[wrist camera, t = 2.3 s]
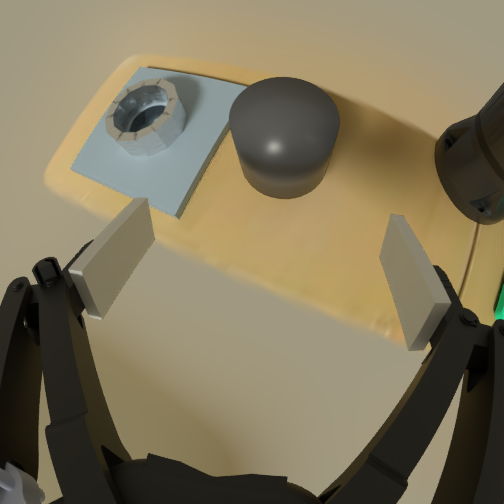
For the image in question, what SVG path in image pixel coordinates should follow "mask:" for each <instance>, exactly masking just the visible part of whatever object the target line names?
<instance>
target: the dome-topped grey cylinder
mask: <svg viewBox="0 0 504 504" xmlns="http://www.w3.org/2000/svg"><path fill="white" fill-rule="evenodd" d="M339 125H340V118H339V113H338V110H337V107H336V105H335V104H334V102H333V100H332V99H331V98H330V97H329V96H328V95H327V93H325V92H324V91H323V90H322V89H320V88H319V87H317V86H316V85H314V84H312V83H310V82H307V81H304V80H301V79H297V78H291V77H275V78H269V79H265V80H261V81H259V82H256V83H254V84H252V85H250V86H249V87H247V88H246V89H244V90H243V91H242V92H241V93H240V94H239V95H238V96H237V98H236V99H235V100H234V102H233V104H232V106H231V109H230V112H229V126H230V130H231V133H232V137H233V140H234V144H235V147H236V150H237V154H238V157H239V161H240V164H241V168H242V171H243V174H244V176H245V178H246V179H247V181H248V182H249V183H250V185H251V186H252V187H254V188H255V189H256V190H257V191H259V192H260V193H262V194H264V195H266V196H269V197H273V198H277V199H292V198H297V197H301V196H303V195H306V194H307V193H309V192H311V191H312V190H314V189H315V188H316V187H317V186H318V185H319V184H320V182H321V181H322V179H323V177H324V176H325V173H326V170H327V166H328V163H329V160H330V157H331V154H332V150H333V147H334V144H335V141H336V137H337V134H338V131H339Z"/></svg>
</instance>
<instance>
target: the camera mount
mask: <svg viewBox="0 0 504 504" xmlns="http://www.w3.org/2000/svg"><path fill="white" fill-rule="evenodd" d="M495 318H496V320H497V319H503V320H504V284H503V288H502V291H501V295H500V298H499V301H498V305H497V308H496V311H495Z"/></svg>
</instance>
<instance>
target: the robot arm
mask: <svg viewBox="0 0 504 504" xmlns="http://www.w3.org/2000/svg"><path fill="white" fill-rule="evenodd" d="M435 162H436V168H437V172H438V175H439V178H440V181H441V183H442V185H443V188H444V189H445V191H446V193H447V195H448V196H449V198H450V199H451V201H452V202H453V203H454V205H455V206H456V207H457V208H458V209H459V210H460V211H461V212H462V213H463V214H464V215H465V216H467V217H468V218H469V219H471V220H473V221H475V222H477V223H479V224H483V225H492V224H495V223H498V222H500V221H502V220H504V83H503V84H502V85H501V86H500V88H499V89H498V90H497V91H496V92H495V94H494V95H493V96H492V97H491V99H490V100H489V101H488V102H487V103H486V104H485V106H484V107H483V108H482V109H481V110H480V111H479V113H478V114H477V115H474V116H472V117H469V118H467V119H464V120H462V121H460V122H457V123H455V124H453V125H451V126H450V127H449V128H447V129H446V131H445V132H444V133H443V134H442V135H441V137H440V138H439V140H438V142H437V144H436V149H435ZM154 240H155V237H154V232H153V226H152V221H151V215H150V210H149V204H148V198H139V197H136V198H135V199H134V200H133V201H132V202H131V203H130V204H129V205H128V206H126V207H125V208H124V209H123V210H122V211H121V212H120V213H119V214H118V215H117V216H116V218H115V219H114V220H113V221H112V222H111V223H110V224H109V225H108V226H107V227H106V228H105V229H104V230H103V231H102V232H101V233H100V234H99V235H98V236H97V237H96V238H95V240H92V241H90V242H89V243H87V244H85V245H84V247H82V248H81V250H80V251H79V253H77V254H76V255H75V257H74V258H73V259H72V260H71V261H70V262H69V263H68V264H67V265H66V267H65V268H64V269H63V270H62V271H61V268H60V266H59V264H58V261H57V259H56V258H54V257H48V258H44V259H43V260H40V261H39V262H38V263H36V265H35V266H34V267H33V269H32V272H33V274H34V276H35V278H36V280H37V283H38V284H37V285H31V284H30V282H29V280H28V278H27V277H19V278H16V279H15V280H13V281H12V282H11V283H10V284H9V286H8V288H7V290H6V293H5V295H4V298H3V300H2V303H1V306H0V504H41V502H43V501H44V500H45V494H44V492H43V490H42V489H41V488H39V486H38V484H37V478H38V462H39V461H38V460H39V451H38V425H39V403H40V390H41V380H42V371H43V377H44V385H45V391H46V397H47V404H48V409H49V414H50V419H51V423H50V425H48V426H46V428H45V434H46V440H47V444H48V448H49V452H50V456H51V459H52V463H53V466H54V470H55V473H56V477H57V480H58V483H59V486H60V489H61V492H62V494H63V497H61V498H59V499H57V500H55V501H53V502H51V503H49V504H396V503H397V502H398V500H399V499H400V498H401V496H402V495H403V494H404V492H405V490H406V489H407V486H408V482H407V479H408V477H409V476H410V474H411V472H412V471H413V469H414V468H415V466H416V465H417V463H418V462H419V460H420V459H421V457H422V455H423V454H424V452H425V450H426V448H427V447H428V445H429V444H430V442H431V440H432V438H433V436H434V434H435V433H436V431H437V429H438V427H439V426H440V424H441V422H442V420H443V418H444V416H445V414H446V412H447V410H448V408H449V406H450V403H451V401H452V399H453V397H454V395H455V393H456V390H457V388H458V385H459V383H460V381H461V379H462V376H463V374H464V376H463V384H462V391H461V397H460V403H459V408H458V414H457V419H456V423H455V428H454V432H453V437H452V440H451V444H450V448H449V452H448V455H447V459H446V462H445V466H444V469H443V472H442V475H441V478H440V481H439V484H438V487H437V489H436V492H435V495H434V497H433V500H432V503H431V504H504V320H503V319H497V320H496V321H495V322H494V324H493V325H492V327H491V326H488V325H484V324H481V323H480V322H479V319H478V317H477V316H476V314H475V313H473V312H472V311H471V310H469V309H467V308H463V306H462V304H461V302H460V300H459V298H458V296H457V294H456V292H455V290H454V288H453V286H452V284H451V282H449V279H448V277H447V275H446V273H445V272H444V271H443V270H442V269H441V268H440V267H439V266H435V265H432V264H431V262H430V260H429V258H428V256H427V255H426V253H425V251H424V249H423V247H422V246H421V244H420V242H419V241H418V239H417V237H416V235H415V234H414V232H413V230H412V229H411V227H410V226H409V224H408V222H407V221H406V219H405V218H404V216H403V215H395V214H390V218H389V222H388V226H387V230H386V234H385V238H384V241H383V245H382V248H381V252H380V255H379V258H380V261H381V264H382V266H383V269H384V272H385V275H386V278H387V281H388V284H389V287H390V290H391V293H392V296H393V299H394V302H395V305H396V309H397V312H398V315H399V319H400V322H401V326H402V329H403V333H404V336H405V340H406V344H407V348H408V351H416V350H424V349H425V347H426V346H427V344H428V342H429V341H430V344H431V347H432V349H431V350H430V352H429V353H428V355H427V356H426V358H425V359H424V361H423V362H422V366H421V368H420V369H419V371H418V373H417V374H416V376H415V378H414V379H413V381H412V382H411V384H410V386H409V387H408V389H407V390H406V392H405V394H404V395H403V397H402V398H401V400H400V401H399V403H398V404H397V405H396V407H395V408H394V410H393V411H392V413H391V414H390V415H389V417H388V418H387V420H386V421H385V423H384V424H383V425H382V427H381V428H380V429H379V430H378V432H377V433H376V434H375V436H374V437H373V438H372V440H371V441H370V442H369V443H368V444H367V446H366V447H365V448H364V449H363V451H362V452H361V453H360V454H359V455H358V456H357V458H356V459H355V460H354V461H353V462H352V463H351V465H350V466H349V467H348V468H347V469H346V470H345V471H344V472H343V473H342V474H341V475H340V476H339V477H338V478H337V479H336V480H335V481H334V482H333V483H332V484H331V485H330V486H329V487H328V488H326V489H325V490H324V491H323V492H322V494H320V495H319V496H318V497H316V496H315V495H314V494H312V493H311V492H309V491H308V490H306V489H304V488H302V487H300V486H298V485H296V484H293V483H289V482H287V477H286V476H284V477H283V476H269V475H258V474H246V475H236V476H221V477H213V476H210V475H208V474H206V473H203V472H201V471H199V470H197V469H195V468H192V467H190V466H188V465H186V464H184V463H182V462H180V461H176V460H172V459H168V458H164V457H161V456H157V455H153V454H150V453H148V456H147V459H136V460H132V459H131V457H130V455H129V453H128V452H127V450H126V449H125V448H124V446H123V444H122V443H121V440H120V438H119V436H118V433H117V431H116V428H115V425H114V423H113V420H112V417H111V415H110V412H109V409H108V406H107V403H106V400H105V397H104V395H103V391H102V388H101V385H100V381H99V378H98V375H97V371H96V368H95V364H94V360H93V356H92V352H91V349H90V344H89V340H88V336H87V331H86V327H85V322H84V318H83V316H82V314H81V313H82V311H83V310H84V309H86V311H87V313H88V315H89V317H92V318H96V319H100V320H103V318H104V316H105V315H106V313H107V312H108V310H109V308H110V307H111V305H112V304H113V302H114V300H115V299H116V297H117V296H118V294H119V292H120V291H121V289H122V288H123V286H124V285H125V283H126V281H127V280H128V279H129V277H130V275H131V274H132V272H133V271H134V269H135V268H136V266H137V265H138V263H139V262H140V260H141V259H142V258H143V256H144V255H145V253H146V252H147V250H148V248H149V247H150V246H151V244H152V243H153V242H154ZM24 322H25V326H24Z"/></svg>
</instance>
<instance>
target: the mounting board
mask: <svg viewBox="0 0 504 504" xmlns="http://www.w3.org/2000/svg"><path fill="white" fill-rule="evenodd" d="M156 78H162V79H164V80H166V81H168V82H170V83H172V84H174V85H175V87H176V89H177V91H178V93H179V96H180V98H181V100H182V102H183V104H184V107H185V110H186V113H187V116H188V118H187V121H186V124H185V127H184V130H183V133H182V134H181V135H180V136H179V137H178V138H177V139H176V140H175V141H174V143H173V144H172V145H171V146H170V147H169V148H168V149H166V150H163V151H161V152H159V153H157V154H154V155H152V156H150V157H134V156H131V155H129V154H128V153H127V152H126V151H125V150H124V149H122V148H121V147H120V146H119V145H118V144H117V143H116V142H115V141H114V140H113V139H112V138H111V137H110V136H109V135H108V134H107V133H106V125H105V116H106V114H107V112H108V110H109V108H110V106H111V105H110V106H109V108H108V109H107V111H106V112H105V113H104V115H103V116H102V118H101V119H100V121H99V122H98V124H97V125H96V127H95V128H94V130H93V131H92V133H91V134H90V136H89V138H88V139H87V141H86V142H85V144H84V146H83V147H82V149H81V151H80V152H79V154H78V156H77V157H76V159H75V161H74V163H73V164H72V166H71V168H70V169H71V170H73V171H74V172H76V173H78V174H80V175H82V176H84V177H87V178H89V179H91V180H93V181H95V182H98V183H100V184H102V185H104V186H106V187H109V188H111V189H113V190H115V191H117V192H120V193H122V194H124V195H126V196H128V197H131V198H133V199H135V198H136V197H139V198H148V204H149V206H150V207H153V208H155V209H157V210H159V211H161V212H164V213H166V214H168V215H170V216H173V217H175V218H177V219H179V218H180V216H181V214H182V212H183V210H184V208H185V206H186V205H187V203H188V201H189V199H190V197H191V195H192V193H193V191H194V190H195V188H196V186H197V184H198V182H199V180H200V179H201V177H202V175H203V173H204V171H205V170H206V168H207V166H208V164H209V163H210V161H211V159H212V157H213V156H214V154H215V152H216V150H217V149H218V147H219V145H220V144H221V142H222V140H223V138H224V137H225V135H226V133H227V132H228V130H229V128H230V126H229V112H230V109H231V106H232V104H233V102H234V100H235V99H236V98H237V96H238V95H239V94H240V93H241V92H242V91H243V90H244V89H246V88H247V87H246V86H242V85H238V84H234V83H230V82H226V81H221V80H217V79H212V78H207V77H202V76H197V75H192V74H186V73H180V72H174V71H167V70H160V69H153V68H144V67H140V68H139V69H138V70H137V71H136V73H135V74H134V75H133V76H132V77H131V79H130V80H129V81H128V82H127V84H126V85H125V86H124V88H123V89H122V90H121V91H120V93H119V94H118V95H117V97H118V96H119V95H120V94H121V93H122V92H123V91H124V90H125V89H126V88H128V87H130V86H132V85H134V84H136V83H138V82H140V81H142V80H144V79H156ZM117 97H116V98H117ZM116 98H115V99H116ZM115 99H114V100H115ZM156 105H163V106H166V105H167V103H160V104H152V105H150V106H148V107H146V108H144V109H142V110H141V111H140V112H139V113H138V114H137V115H139V114H140V113H141V112H142V111H144V110H145V109H147V108H149V107H152V106H156ZM137 115H136V116H135V117H134V118H133V119H132V120H131V122H130V124H129V127H128V129H127V132H130V127H131V124H132V122H133V120H134V119H135V118H136V117H137Z"/></svg>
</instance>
